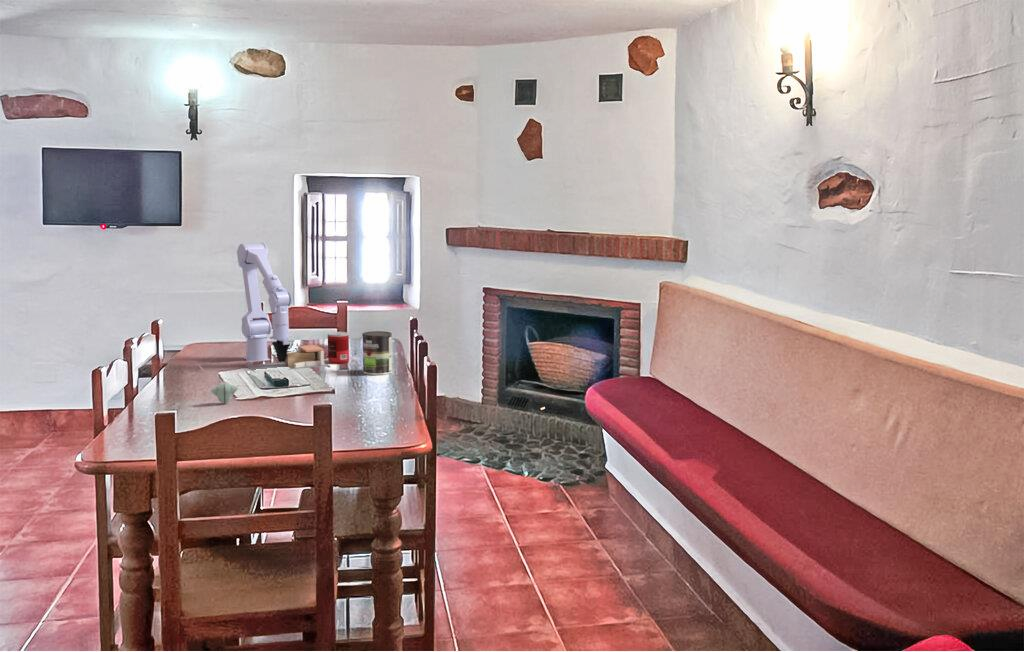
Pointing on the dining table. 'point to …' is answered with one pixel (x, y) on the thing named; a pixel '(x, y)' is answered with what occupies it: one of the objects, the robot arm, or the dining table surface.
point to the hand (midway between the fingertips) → (281, 361)
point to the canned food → (338, 347)
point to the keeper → (307, 364)
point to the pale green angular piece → (224, 391)
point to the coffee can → (377, 353)
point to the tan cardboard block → (298, 357)
